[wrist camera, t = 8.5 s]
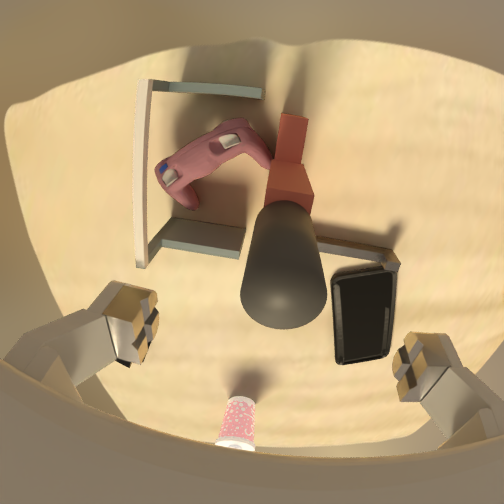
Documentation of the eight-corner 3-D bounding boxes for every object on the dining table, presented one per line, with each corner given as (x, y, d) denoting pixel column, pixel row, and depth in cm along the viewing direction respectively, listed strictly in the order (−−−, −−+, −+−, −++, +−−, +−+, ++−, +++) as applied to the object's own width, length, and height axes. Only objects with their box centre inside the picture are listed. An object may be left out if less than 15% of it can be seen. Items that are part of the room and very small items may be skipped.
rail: (392, 249, 30) (400, 263, 27) (389, 257, 30) (397, 271, 28) (266, 227, 30) (264, 240, 28) (264, 236, 31) (262, 249, 28)
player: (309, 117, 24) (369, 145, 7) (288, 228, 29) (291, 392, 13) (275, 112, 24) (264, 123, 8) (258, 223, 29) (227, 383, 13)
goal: (265, 91, 24) (257, 84, 16) (245, 235, 31) (231, 285, 23) (180, 84, 24) (137, 79, 16) (171, 224, 31) (136, 267, 23)
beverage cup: (260, 412, 46) (253, 483, 34) (226, 411, 47) (213, 479, 35) (258, 394, 44) (249, 471, 31) (220, 392, 44) (205, 467, 32)
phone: (335, 366, 38) (330, 278, 31) (334, 360, 39) (328, 272, 32) (389, 356, 37) (398, 267, 30) (387, 351, 38) (395, 262, 31)
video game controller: (260, 128, 27) (234, 99, 20) (280, 167, 27) (259, 147, 20) (178, 176, 30) (137, 164, 23) (194, 214, 30) (153, 210, 23)
